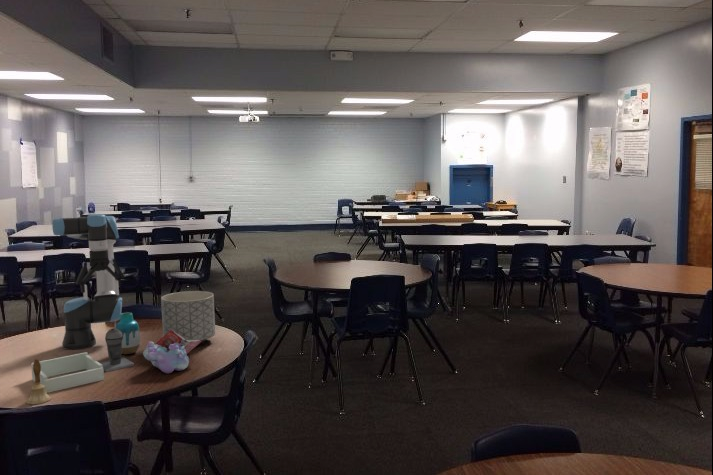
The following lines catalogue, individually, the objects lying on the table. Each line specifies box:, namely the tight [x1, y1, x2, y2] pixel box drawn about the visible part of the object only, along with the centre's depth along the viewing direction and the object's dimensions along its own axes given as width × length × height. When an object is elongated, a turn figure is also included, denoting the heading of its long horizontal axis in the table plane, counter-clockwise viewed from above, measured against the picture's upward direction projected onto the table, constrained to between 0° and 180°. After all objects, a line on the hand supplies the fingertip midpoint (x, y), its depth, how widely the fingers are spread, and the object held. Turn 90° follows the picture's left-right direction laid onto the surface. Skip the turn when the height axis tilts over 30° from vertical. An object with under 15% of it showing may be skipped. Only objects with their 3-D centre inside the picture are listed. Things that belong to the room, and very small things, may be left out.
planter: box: [160, 290, 216, 345], centre depth 297 cm, size 25×25×24 cm
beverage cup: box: [104, 319, 123, 365], centre depth 264 cm, size 7×7×20 cm
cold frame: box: [30, 351, 105, 394], centre depth 247 cm, size 21×22×7 cm
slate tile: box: [99, 357, 135, 372], centre depth 265 cm, size 12×12×1 cm
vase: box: [116, 312, 141, 355], centre depth 282 cm, size 11×11×19 cm
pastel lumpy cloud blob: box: [142, 330, 203, 375], centre depth 260 cm, size 20×22×18 cm
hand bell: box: [25, 358, 52, 405], centre depth 224 cm, size 8×8×16 cm
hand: (101, 297), depth 265 cm, fingers open, 13 cm apart
